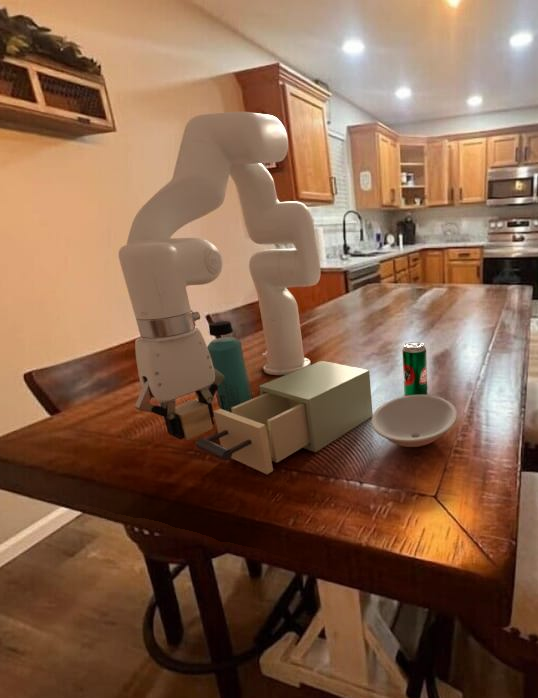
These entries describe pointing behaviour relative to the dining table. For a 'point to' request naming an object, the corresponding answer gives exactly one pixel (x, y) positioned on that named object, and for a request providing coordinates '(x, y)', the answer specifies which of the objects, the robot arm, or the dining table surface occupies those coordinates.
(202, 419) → the block
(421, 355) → the soda can
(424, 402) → the dish
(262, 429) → the drawer
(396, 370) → the dining table surface
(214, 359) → the beverage bottle
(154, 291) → the robot arm
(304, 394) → the cabinet
